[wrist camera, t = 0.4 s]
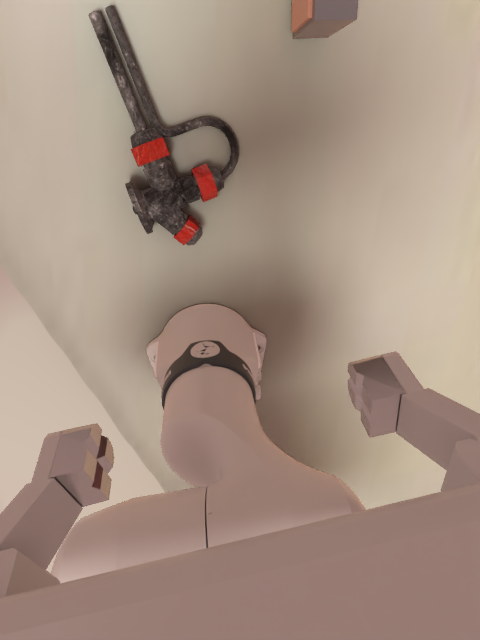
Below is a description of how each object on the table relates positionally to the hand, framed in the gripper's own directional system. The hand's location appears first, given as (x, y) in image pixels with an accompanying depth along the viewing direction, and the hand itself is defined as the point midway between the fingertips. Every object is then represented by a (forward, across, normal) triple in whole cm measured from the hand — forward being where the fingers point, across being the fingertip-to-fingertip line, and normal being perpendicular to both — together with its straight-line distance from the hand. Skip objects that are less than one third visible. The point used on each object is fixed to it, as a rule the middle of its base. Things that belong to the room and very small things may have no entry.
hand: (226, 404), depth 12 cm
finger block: (+44, +17, +7) cm, 48 cm away
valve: (+44, -2, -1) cm, 44 cm away
